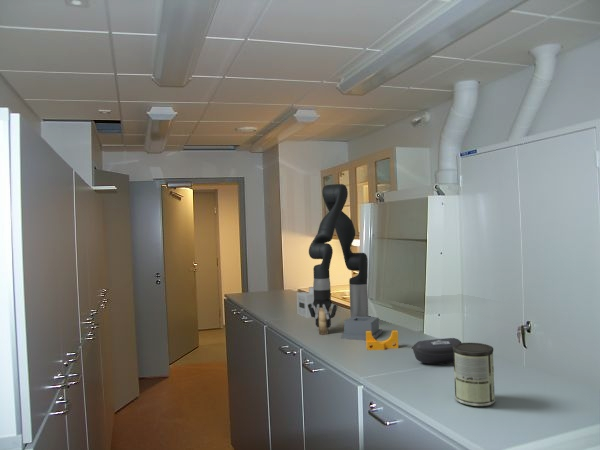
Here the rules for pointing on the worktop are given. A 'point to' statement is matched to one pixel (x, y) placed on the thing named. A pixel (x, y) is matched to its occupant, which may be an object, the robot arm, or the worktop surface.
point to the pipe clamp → (381, 344)
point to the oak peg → (322, 322)
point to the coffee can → (474, 374)
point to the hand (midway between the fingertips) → (323, 326)
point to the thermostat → (305, 302)
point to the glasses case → (435, 350)
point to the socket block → (361, 327)
